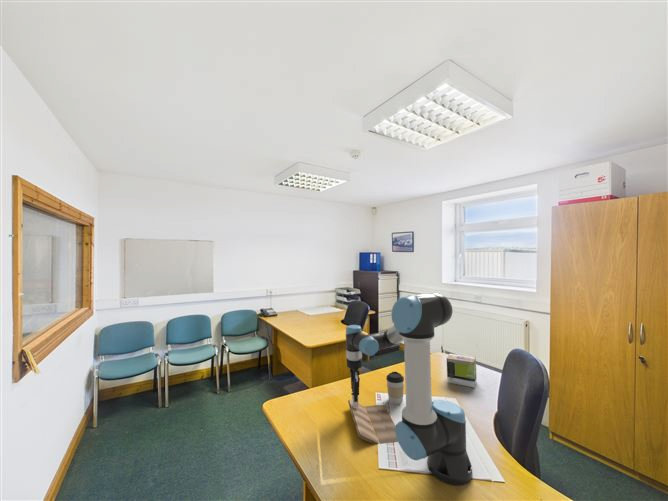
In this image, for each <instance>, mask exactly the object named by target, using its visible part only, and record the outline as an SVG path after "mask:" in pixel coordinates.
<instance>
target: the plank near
mask: <svg viewBox="0 0 668 501" xmlns="http://www.w3.org/2000/svg"><path fill="white" fill-rule="evenodd" d="M352 419H353V423H354V425H355V426H354V427H355V429H356V432H357V435H358V438H359V439H362V440H365V441H366V442H369V443H371V444H372V445H377V444H380V443H379V440H378V438H377V435H376V433H375V430H374V428H373V425H372V423H369V422H367V421H365V420H363V419H361V418H359V417H357V416H355V415H354V416H353V417H352Z"/></svg>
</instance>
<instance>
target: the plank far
mask: <svg viewBox="0 0 668 501" xmlns="http://www.w3.org/2000/svg"><path fill="white" fill-rule="evenodd" d="M347 403H348V407H349V409H350V413H351V417H352V418H353V416H354V415H355V416H357V417H359V418H361V419H363V420H365V421H367V422H369V423H371V420H370V418H369V415H368V412H367V410H366V407H365V405H362V404H360V403H358V407H359V408H353V406H352V400H351V399H350V398H349V399H348V400H347ZM371 424H372V423H371Z"/></svg>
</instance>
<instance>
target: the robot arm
mask: <svg viewBox="0 0 668 501" xmlns="http://www.w3.org/2000/svg"><path fill="white" fill-rule="evenodd" d="M452 316H453V306H452V303H451V302H450V300H449V299H448V298H447V297H446V296H445V295H443V294H441V293H437V292H429V293H428V292H427V293H422V294H414V295H413V294H412V295H411V294H410V295H407V296H402V297H400V298H398V299H397V300H396V301H395V302H394V304H393V306H392V309H391V321H392V323H393V326H391V327H389V328H388V329H386V330H384V331H380V332H375V333H371V334H365V333H363V332H362V331H363V330H362V327H361V325H357V324H350V325H347V326H346V327H345V347H346V349H345V351H346V353H345V356H346V367H347V369H348V368H349V374H350V388H351V392H350V394H351V399H352V400H351V401H352V406H353V408H359V407H358V404H359V396H360V380H361V379H360V370H359V369H361V368H362V367H363V354H364V355H367V356H370V357H371V356H375V355H376V354H377V353H378V351H381V350H385V349H386V350H387V349H388V348H389V349H390V348H395V347H397V346H398V347H399V346H400V345H402V344H401V343H402V342H403V351H404V352H403V353H404V386H405V406H404V407H403V408H402V410H401V421H398V422H397V423H396V424H395V433H396V437H397V440H398V442H397V443H398V445H399V447H400V448H401V450H402V451H403V452H404V454H405V455H406V456H407V457H408V458H409V459H411V460H413V461H419V460H423V459H426V458H427V464H428V470H429V471H431V472H430V473H431V474H432V476H434V478H436V479H438V480H439V481H440V482H443V483H445V484H449V485H454V486H461V485H462V486H463V485H466V484H467V483H469V482H470V481H471V479H472V478H473V467H472V466H473V465H472V462H471V460H470V457H469V454H468V451H467V430H466V428H467V427H466V426H467V425H466V423H467V420H466V413H465V410H464V409H463V408H462V406H459V405H458V404H457V403H455V402H452V401H449V400H446V399H445V400H444V399H436V400H433V399H432V366H431V364H432V363H431V340H433V339H434V337H435V328H438V327H439V326H443V325H445V324H447V323H448V322H449V321H450V320H451V318H452Z"/></svg>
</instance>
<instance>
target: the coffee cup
mask: <svg viewBox="0 0 668 501" xmlns="http://www.w3.org/2000/svg"><path fill="white" fill-rule="evenodd" d="M404 386H405V376H404V375H402V374H401V373H399V372H397V371H392V372H390V373H388V374H387V375H386V388H387V397H388V401H389V403H391V404H393V405H399V404H402V403H403V401H404V399H403V398H404Z"/></svg>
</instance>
